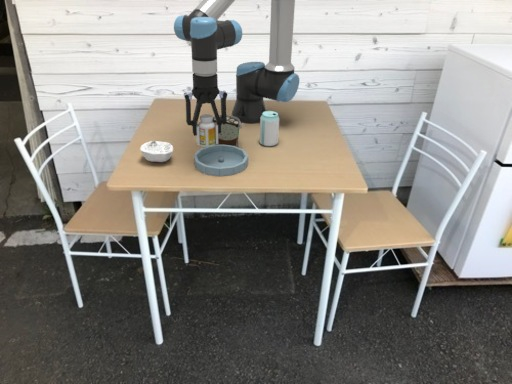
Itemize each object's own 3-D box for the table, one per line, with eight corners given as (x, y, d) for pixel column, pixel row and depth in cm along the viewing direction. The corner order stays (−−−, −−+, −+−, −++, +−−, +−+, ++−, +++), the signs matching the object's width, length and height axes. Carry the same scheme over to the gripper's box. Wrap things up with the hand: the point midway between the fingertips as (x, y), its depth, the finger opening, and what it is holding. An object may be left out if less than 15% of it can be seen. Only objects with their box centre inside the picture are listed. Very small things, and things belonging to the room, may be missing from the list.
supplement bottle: (215, 140, 138) (214, 113, 133) (215, 147, 134) (214, 119, 129) (199, 140, 138) (198, 113, 133) (198, 147, 133) (197, 119, 128)
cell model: (161, 170, 135) (159, 152, 132) (135, 161, 141) (132, 143, 137) (181, 159, 143) (180, 141, 139) (156, 150, 148) (154, 133, 144)
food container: (245, 142, 156) (246, 117, 151) (240, 148, 151) (240, 123, 146) (216, 137, 160) (215, 112, 154) (209, 143, 155) (209, 118, 149)
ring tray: (240, 149, 151) (240, 142, 149) (253, 172, 136) (253, 165, 134) (191, 154, 146) (191, 147, 145) (199, 178, 131) (199, 171, 130)
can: (268, 138, 160) (269, 108, 154) (281, 143, 156) (283, 113, 150) (255, 142, 156) (256, 113, 150) (268, 149, 152) (270, 118, 145)
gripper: (231, 68, 129) (231, 136, 141) (172, 70, 124) (178, 140, 136) (237, 74, 123) (236, 145, 135) (175, 77, 118) (180, 150, 130)
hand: (207, 142), depth 135 cm, fingers closed on supplement bottle, 5 cm apart
